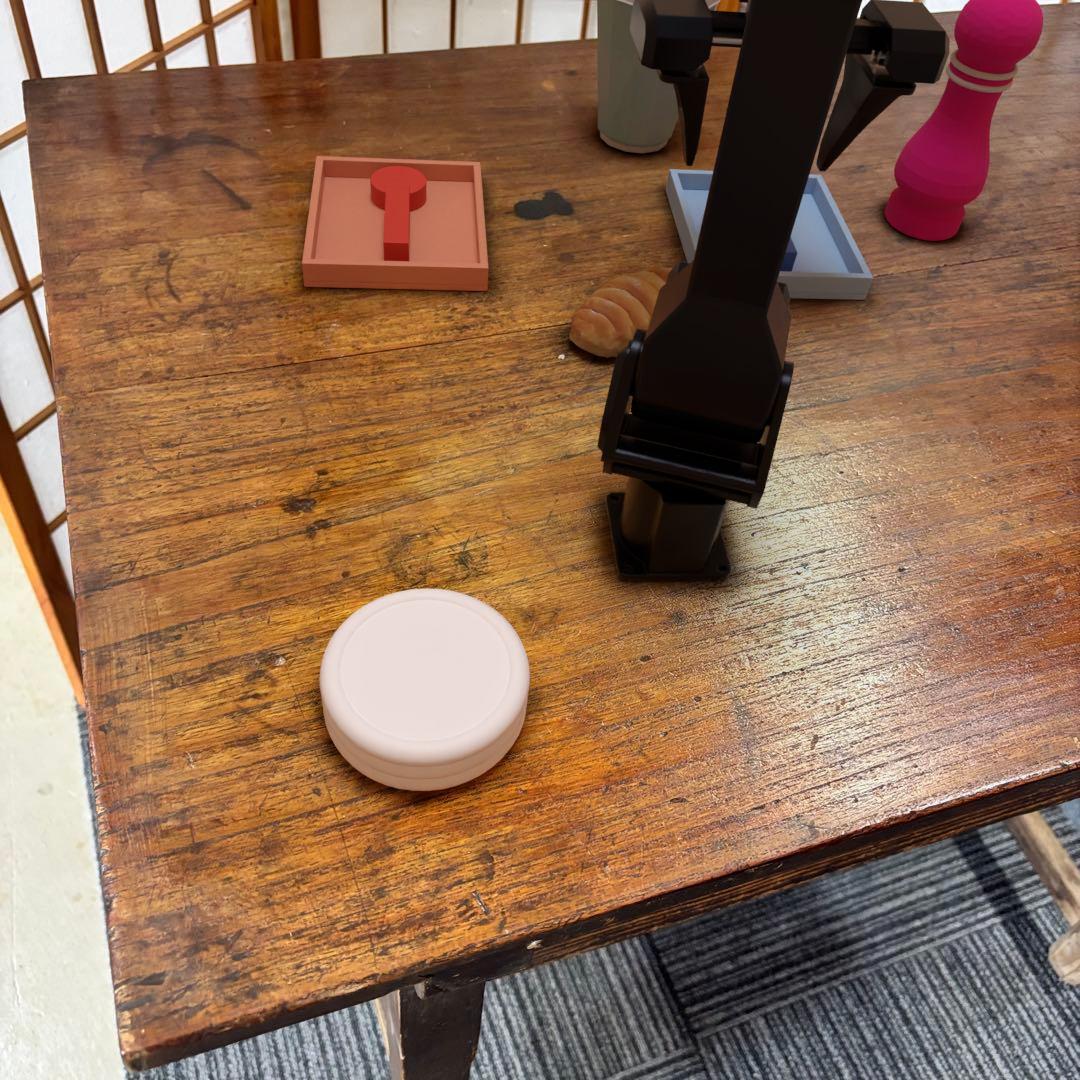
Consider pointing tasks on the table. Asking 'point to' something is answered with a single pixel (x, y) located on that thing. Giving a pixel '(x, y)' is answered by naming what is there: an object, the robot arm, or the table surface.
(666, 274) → the pastry
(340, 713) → the white round tin
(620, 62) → the disposable coffee cup
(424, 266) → the red tray
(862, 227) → the table surface
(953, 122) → the pepper mill
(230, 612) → the table surface
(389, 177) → the red spoon
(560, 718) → the table surface
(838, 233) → the blue tray
